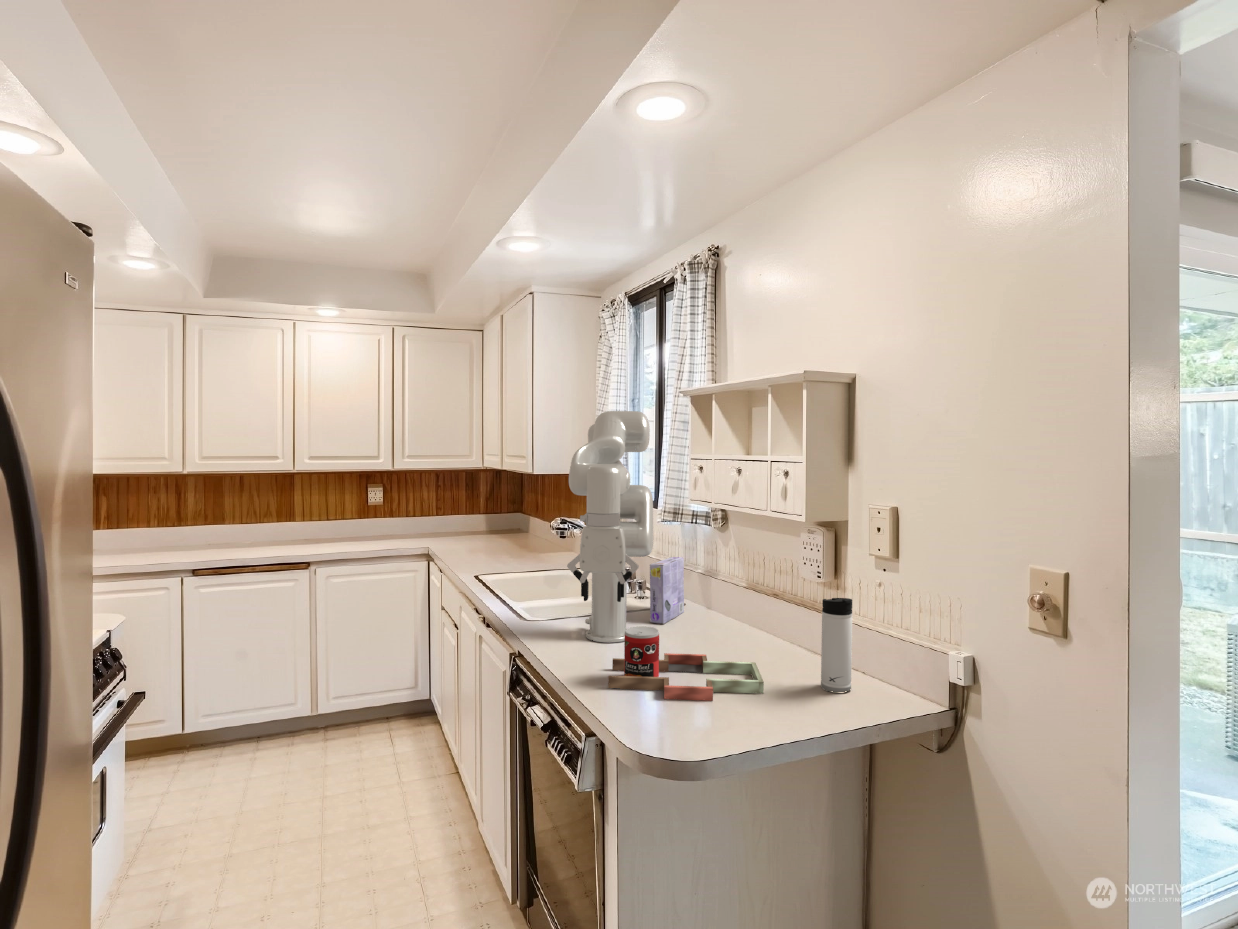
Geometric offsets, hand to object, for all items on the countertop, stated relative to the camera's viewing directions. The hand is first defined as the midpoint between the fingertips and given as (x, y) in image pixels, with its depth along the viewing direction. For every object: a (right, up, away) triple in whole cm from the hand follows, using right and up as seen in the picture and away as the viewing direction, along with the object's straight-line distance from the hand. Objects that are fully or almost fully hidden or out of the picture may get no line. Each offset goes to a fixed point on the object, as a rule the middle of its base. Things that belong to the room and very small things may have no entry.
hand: (602, 599), depth 152 cm
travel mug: (+51, -19, -5) cm, 54 cm away
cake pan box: (+19, -17, +56) cm, 61 cm away
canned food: (+9, -18, 0) cm, 20 cm away
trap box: (+18, -18, -1) cm, 25 cm away
